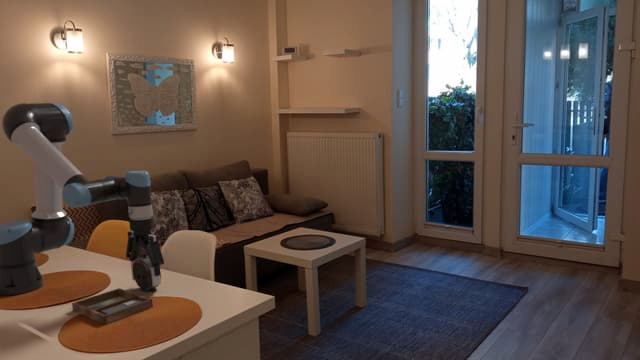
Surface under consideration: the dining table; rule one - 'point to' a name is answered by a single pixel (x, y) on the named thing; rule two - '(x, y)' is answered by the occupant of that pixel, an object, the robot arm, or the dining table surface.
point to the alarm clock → (143, 272)
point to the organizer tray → (111, 305)
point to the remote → (120, 306)
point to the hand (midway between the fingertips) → (146, 281)
